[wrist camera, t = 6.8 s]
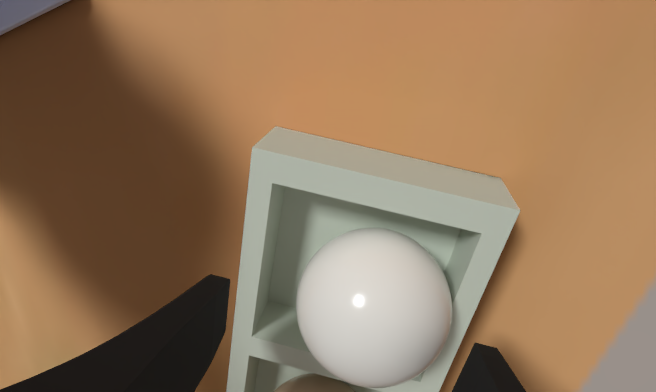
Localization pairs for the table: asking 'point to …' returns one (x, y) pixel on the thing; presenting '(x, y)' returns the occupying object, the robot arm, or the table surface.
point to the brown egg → (314, 384)
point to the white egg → (374, 307)
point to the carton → (342, 216)
